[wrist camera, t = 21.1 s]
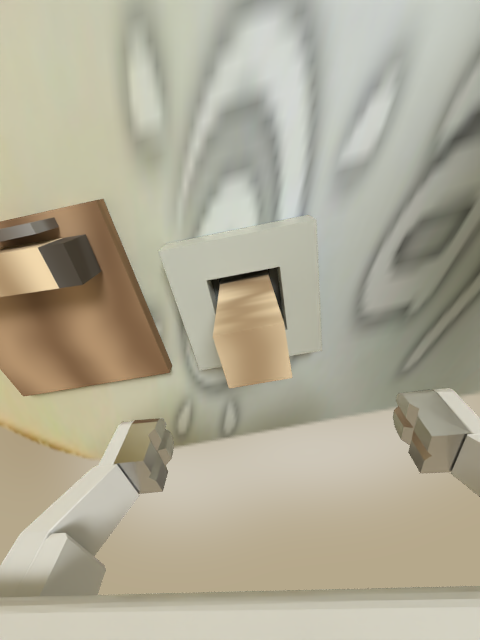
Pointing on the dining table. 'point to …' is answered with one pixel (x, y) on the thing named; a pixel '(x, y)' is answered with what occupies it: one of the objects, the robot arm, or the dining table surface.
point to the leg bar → (46, 265)
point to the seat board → (78, 312)
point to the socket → (243, 257)
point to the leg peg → (250, 331)
